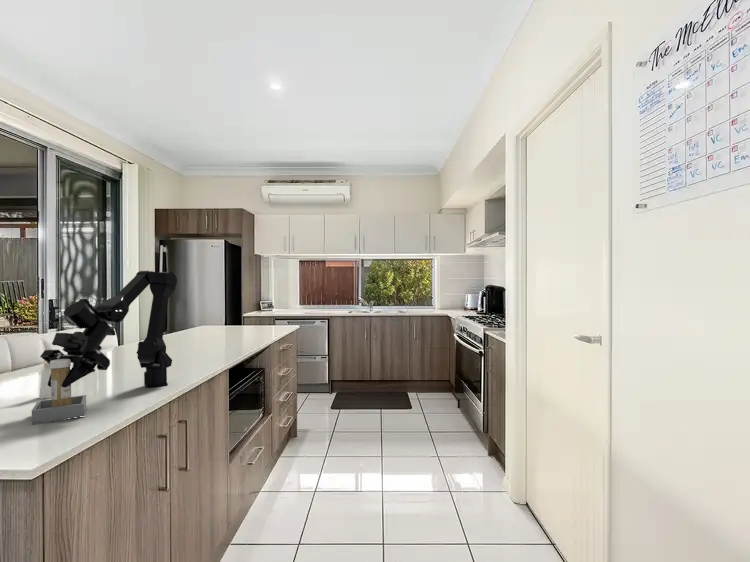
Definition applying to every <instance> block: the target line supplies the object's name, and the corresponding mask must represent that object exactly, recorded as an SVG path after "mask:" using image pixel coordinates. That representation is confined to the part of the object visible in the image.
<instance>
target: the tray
mask: <svg viewBox="0 0 750 562" xmlns="http://www.w3.org/2000/svg"><path fill="white" fill-rule="evenodd" d="M85 410H86V411H87V394H83V395H76V396H71V405H67V406H59V407H52V399H51V398H48V399H40V400H37V402H36V403H35V405H34V406H33V408H32V409H31V426H32V425H40V424H47V423H52V421H54V422H58V421H57V420H61V421H65V420H64V419H68V418H74V417H80V416H84V415H85V416H86V412H85ZM68 420H69V419H68Z"/></svg>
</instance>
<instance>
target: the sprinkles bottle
mask: <svg viewBox="0 0 750 562" xmlns="http://www.w3.org/2000/svg"><path fill="white" fill-rule="evenodd" d="M71 366H72V363H71V360H70V359H57V360H52V361H50V368H51V398H50V399H52V407H59V406H67V405H71V397H72V384H70V385H69V386H67V387H65V388H64V387H62V383H63V382H64V380H65V378H66V377H67V375H68V374H69V372H70V369H71Z"/></svg>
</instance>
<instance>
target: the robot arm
mask: <svg viewBox="0 0 750 562" xmlns="http://www.w3.org/2000/svg"><path fill="white" fill-rule="evenodd" d="M177 283H178V278H177V276H176V275H175V273H174V272H173V271H153V270H139V271H138V272H136V274H135V276H134V277H133V278H132V279H131V280H130V281H129V282H128V283H127V284H126V285H125V286H124V287H123V288H121V290H120V291H118V293H117V294H115V296H113V297H111V298H108V299H105V300H104V301H102V302H101V303H100V304H98V305H97V306H96V308H95V307H94V306H93V305H92V304H91V303H90V301H89V300H88V299H87V298H80V299H79V300H78V301H75V302H74V303H72V304H70V305H69V306H67V307H66V308H65V309H64V311H63V315H64V316H65V317H66V318H67V319H68V320H69V321H70V322H72V324H74V326H75V327H76V328H78V329H84V330H83V331H74V332H73V333H69V332H56V333H55V335H54V338H53V339H52V342H51V345H52V346H58V347H60V348H62V351H61V350H60V349H45V350H44V351H43V352H42V353H41V354H40V358H41V359H42V360H44V362H47V363H49V364H50V361H52V360H57V359H70V360H71V364H72V367H71V368H70V372H69V374H68V375H67V377H66V378H65V380H64V382H63V383H62V387H64V388H65V387H67V386H69V385H70V384H71V385H72V384H73V383H75V382H77V381H79V380H80V379H82V378H84V377H86V376H87V375H88V376H89V374H91V373H94V372H96V369H95V368H97V370H99V371H107V370H108V368H109V367H110V365H111V360H110V358H108V356H106V355H105V354H104V353H103V352H102V351H101V350H102V348H103V347H102V346H101V345H102V343H103V341H104V340H105V338H106V337H107V336H115V335H116V331H115V326H114V325H113V326H111V325H110V323H116V324H117V323H121V322H122V321H124V319H125V318H126V316H127V315H128V313H129V312H130V306H131V304H133V302H134V301H135V300H136V299H137V298H138V297H139V295H141V293H142V292H143V291H145V289H146V288H148V286H149V290H150V293H151V294H152V300H151V301H152V302H151V307H150V314H149V319H148V327H147V332H146V336H145V339H143V340H142V341H139V342H138V344H137V345H138V346H137V351H136V354H137V355H136V356H137V359H138V363H139V365H140V368H143V369H144V368H145V371H144V372H143V386H145V388H154V387H162V386H168V385H169V383H168V376H167V374H168V371H167V369H168V368H169V367H171V366H172V362H173V358H171V357H170V356H169V355H168V353H167V345H166V343H165V341H164V338H163V337H164V331H165V324H166V317H167V312H168V305H169V304H168V303H169V298H170V297H171V295H172V294H173V293H174V292H175V291H176V287H177ZM63 352H65V353H66V354H65V353H63ZM48 386H49V387H51V375H50V378H49V381H48Z"/></svg>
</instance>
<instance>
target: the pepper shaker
mask: <svg viewBox="0 0 750 562" xmlns="http://www.w3.org/2000/svg"><path fill="white" fill-rule="evenodd" d="M43 367H44V368H43V369H42V371H41V378H40V387H39V394H38V395H39V396H38V397H39V399H41V398H47V399H51V387H49V386H48V381H49V378H50V375H51V368H50V364H49V363H47V362H46V361H44V362H43Z"/></svg>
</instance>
